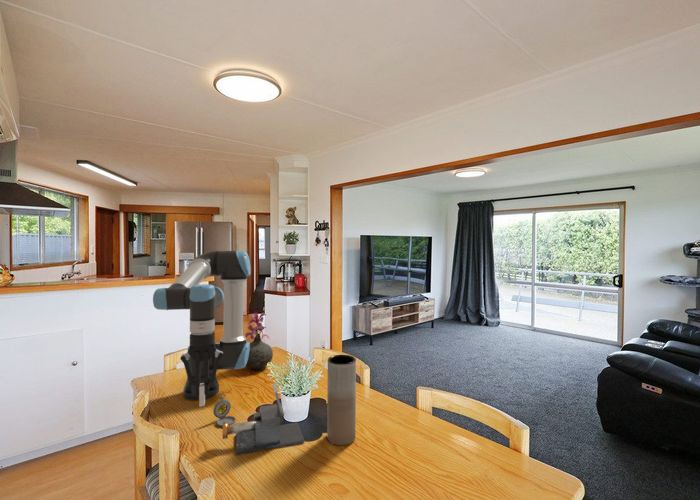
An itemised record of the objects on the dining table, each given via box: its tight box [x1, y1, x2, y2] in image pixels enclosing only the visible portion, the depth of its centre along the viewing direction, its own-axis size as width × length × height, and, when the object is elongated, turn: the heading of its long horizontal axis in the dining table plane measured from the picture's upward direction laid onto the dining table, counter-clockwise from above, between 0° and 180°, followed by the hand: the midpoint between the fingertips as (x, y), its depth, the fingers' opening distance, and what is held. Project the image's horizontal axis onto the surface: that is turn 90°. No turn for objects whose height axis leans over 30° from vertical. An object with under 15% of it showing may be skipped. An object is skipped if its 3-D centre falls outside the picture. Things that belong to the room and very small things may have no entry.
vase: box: [244, 312, 274, 371], centre depth 186 cm, size 17×18×30 cm
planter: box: [326, 354, 357, 446], centre depth 119 cm, size 10×10×28 cm
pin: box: [222, 420, 261, 440], centre depth 115 cm, size 5×15×5 cm, turn 109°
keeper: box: [272, 383, 285, 418], centre depth 118 cm, size 8×1×9 cm, turn 19°
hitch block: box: [235, 403, 305, 456], centre depth 118 cm, size 12×22×10 cm, turn 109°
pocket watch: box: [212, 393, 236, 428], centre depth 129 cm, size 8×8×10 cm
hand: (202, 404), depth 110 cm, fingers closed
